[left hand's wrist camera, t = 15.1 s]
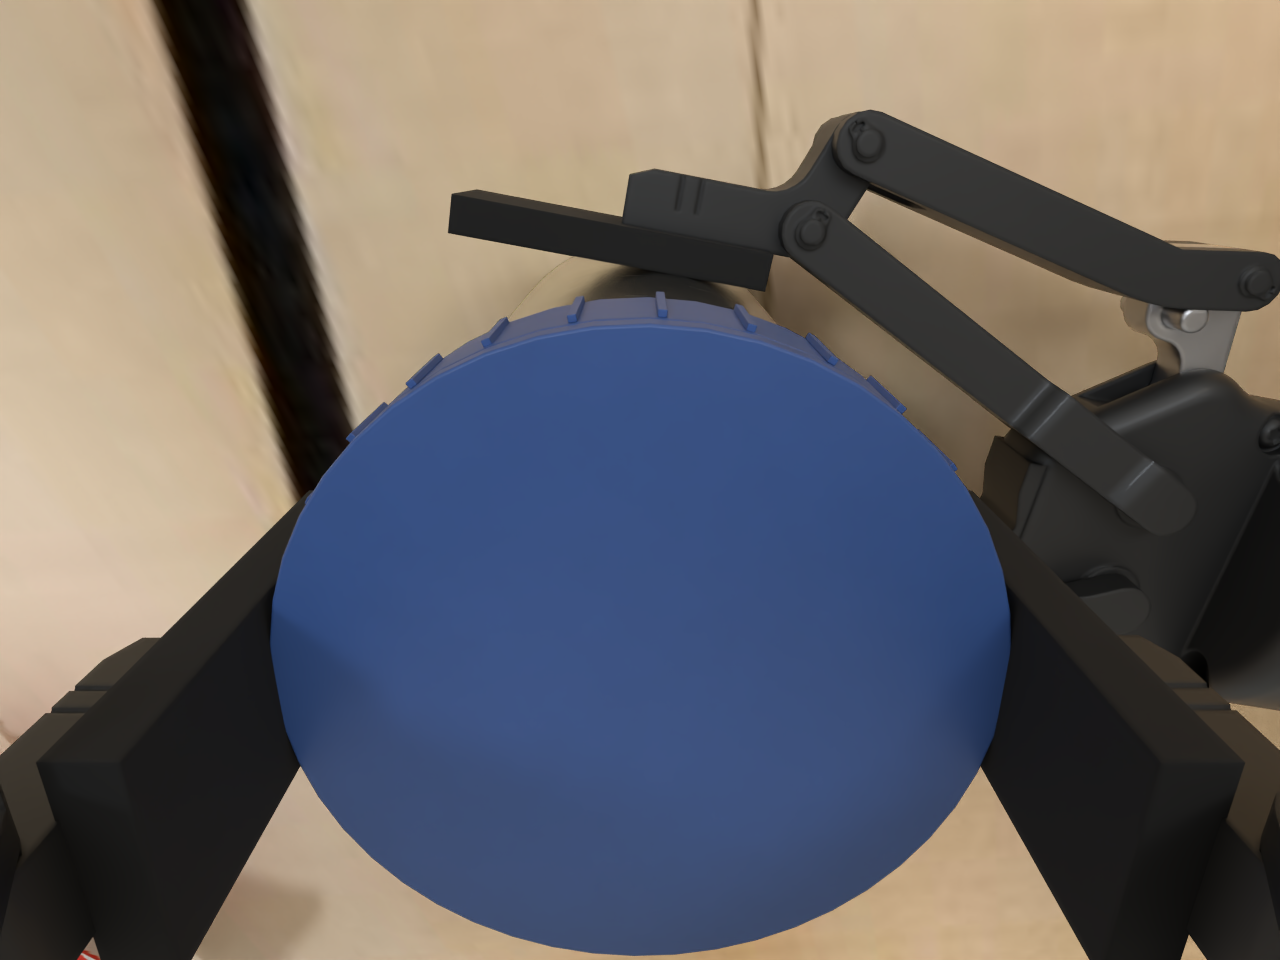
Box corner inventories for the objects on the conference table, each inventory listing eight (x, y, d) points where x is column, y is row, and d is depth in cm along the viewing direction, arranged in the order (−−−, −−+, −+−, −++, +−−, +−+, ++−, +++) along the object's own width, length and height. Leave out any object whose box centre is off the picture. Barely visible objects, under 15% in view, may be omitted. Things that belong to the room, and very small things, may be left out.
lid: (396, 878, 14) (360, 984, 12) (239, 332, 11) (157, 367, 9) (951, 832, 14) (999, 933, 12) (971, 251, 10) (1041, 269, 9)
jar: (502, 229, 24) (302, 327, 10) (796, 250, 24) (1019, 374, 10) (500, 502, 27) (347, 875, 13) (760, 518, 27) (892, 902, 13)
